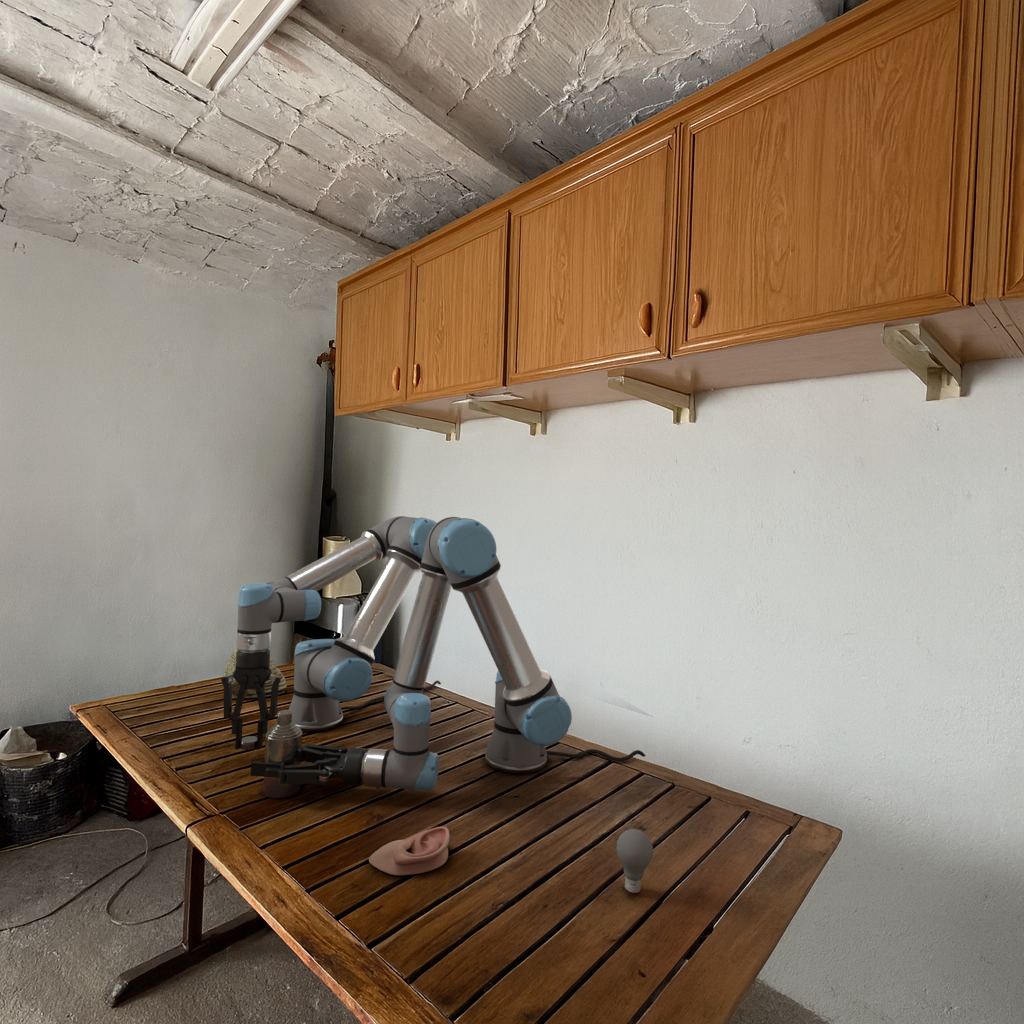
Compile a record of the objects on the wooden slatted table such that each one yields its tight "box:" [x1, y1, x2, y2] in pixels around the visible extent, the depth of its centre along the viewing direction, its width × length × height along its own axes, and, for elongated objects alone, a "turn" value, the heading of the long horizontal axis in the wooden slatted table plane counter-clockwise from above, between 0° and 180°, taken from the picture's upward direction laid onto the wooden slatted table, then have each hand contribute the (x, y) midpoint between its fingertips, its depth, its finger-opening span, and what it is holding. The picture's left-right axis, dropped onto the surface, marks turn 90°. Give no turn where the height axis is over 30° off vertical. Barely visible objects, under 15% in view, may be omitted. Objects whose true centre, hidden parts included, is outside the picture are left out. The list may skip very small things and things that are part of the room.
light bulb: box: [615, 828, 654, 894], centre depth 106 cm, size 6×6×10 cm
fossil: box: [222, 648, 288, 699], centre depth 198 cm, size 9×18×15 cm, turn 132°
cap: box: [239, 735, 257, 751], centre depth 151 cm, size 4×4×2 cm
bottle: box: [262, 709, 303, 799], centre depth 136 cm, size 7×7×17 cm
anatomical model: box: [368, 826, 451, 876], centre depth 112 cm, size 13×4×12 cm
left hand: (249, 746), depth 151 cm, fingers closed on cap, 4 cm apart
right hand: (260, 760), depth 136 cm, fingers closed on bottle, 7 cm apart
